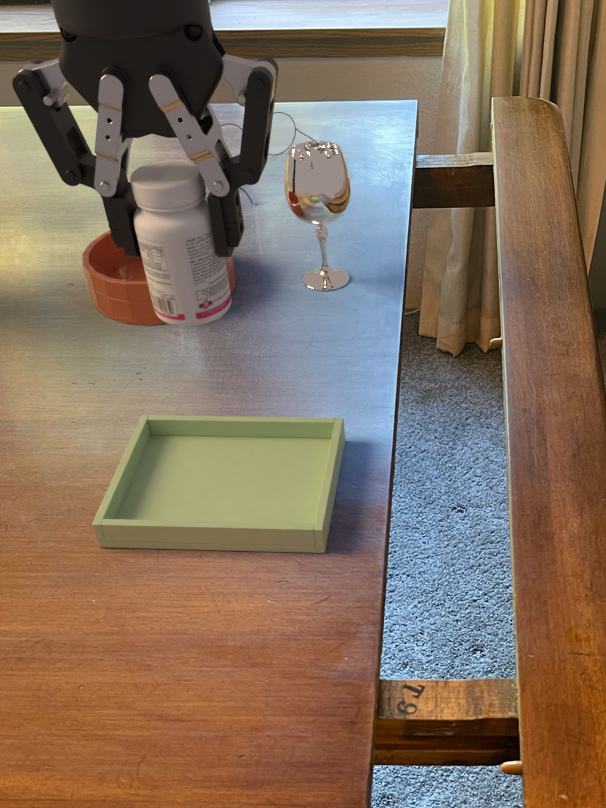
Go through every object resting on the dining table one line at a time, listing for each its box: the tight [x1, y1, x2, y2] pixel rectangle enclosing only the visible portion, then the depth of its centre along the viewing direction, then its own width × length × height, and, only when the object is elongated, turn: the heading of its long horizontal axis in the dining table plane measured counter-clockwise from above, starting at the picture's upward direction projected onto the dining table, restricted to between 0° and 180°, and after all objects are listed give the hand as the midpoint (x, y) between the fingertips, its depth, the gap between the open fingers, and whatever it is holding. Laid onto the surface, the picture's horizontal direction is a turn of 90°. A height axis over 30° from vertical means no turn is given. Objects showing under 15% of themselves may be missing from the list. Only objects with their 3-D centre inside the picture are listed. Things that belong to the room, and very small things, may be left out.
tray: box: [91, 414, 346, 554], centre depth 66 cm, size 15×12×2 cm
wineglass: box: [284, 140, 352, 292], centre depth 85 cm, size 6×6×12 cm
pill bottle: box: [129, 159, 233, 327], centre depth 56 cm, size 5×5×8 cm
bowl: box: [81, 230, 237, 326], centre depth 88 cm, size 13×13×4 cm
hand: (181, 250), depth 56 cm, fingers closed on pill bottle, 4 cm apart
